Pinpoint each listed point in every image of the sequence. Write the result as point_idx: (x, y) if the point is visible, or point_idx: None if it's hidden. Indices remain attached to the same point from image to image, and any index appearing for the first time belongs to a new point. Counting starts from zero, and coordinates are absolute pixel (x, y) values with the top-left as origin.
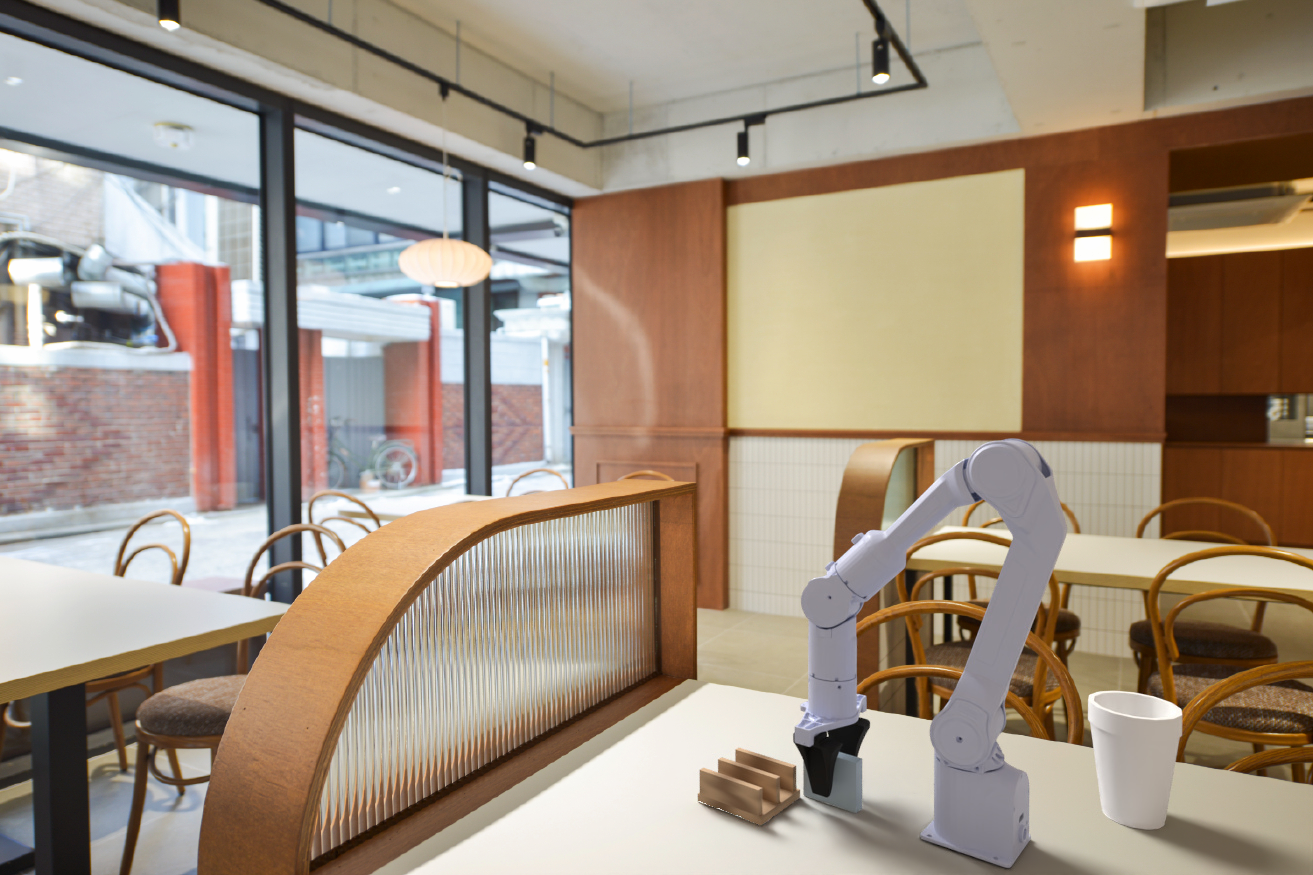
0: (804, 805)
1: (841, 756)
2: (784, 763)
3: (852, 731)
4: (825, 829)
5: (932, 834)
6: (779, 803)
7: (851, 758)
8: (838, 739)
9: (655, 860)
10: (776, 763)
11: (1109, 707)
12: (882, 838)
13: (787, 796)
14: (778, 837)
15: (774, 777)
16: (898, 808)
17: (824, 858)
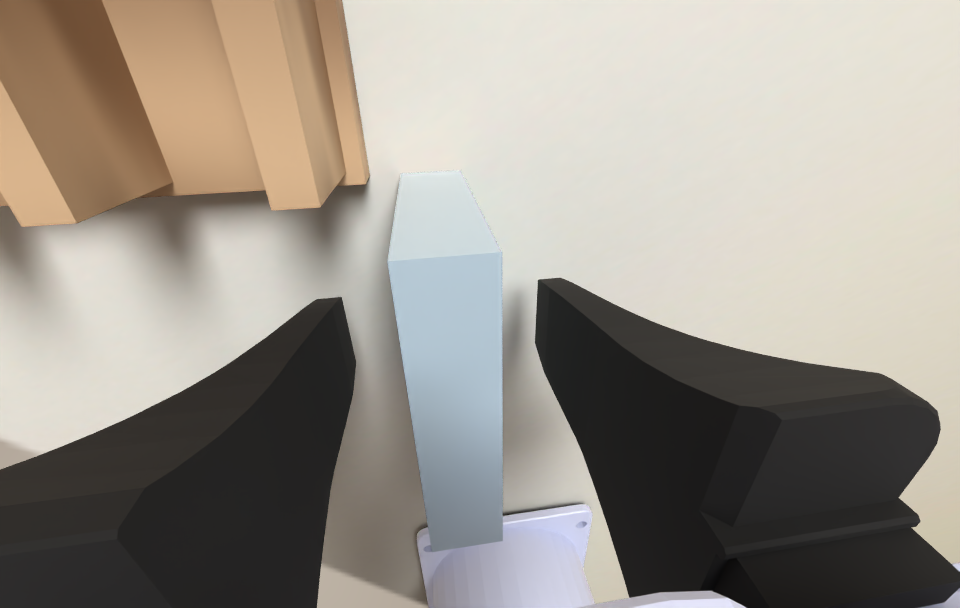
0: (327, 229)
1: (449, 485)
2: (271, 118)
3: (642, 573)
4: None
5: None
6: (156, 192)
7: (467, 517)
8: (621, 418)
9: None
10: (229, 49)
11: None
12: (352, 482)
13: (250, 180)
14: (24, 303)
15: (18, 206)
16: (539, 432)
17: None
